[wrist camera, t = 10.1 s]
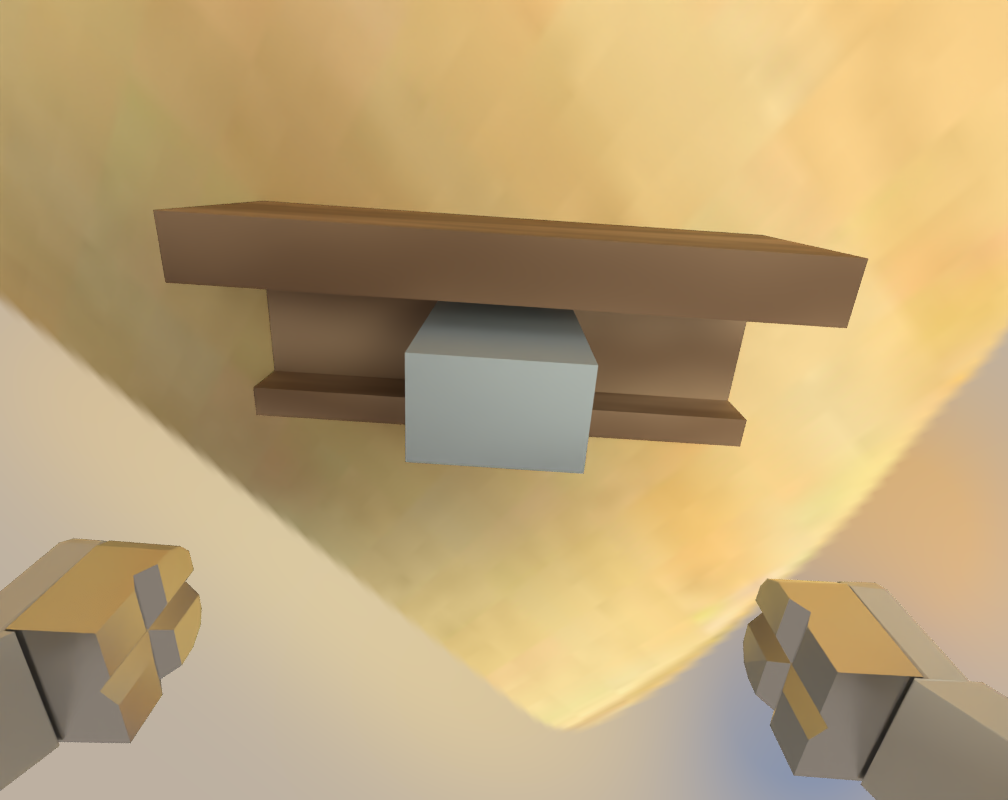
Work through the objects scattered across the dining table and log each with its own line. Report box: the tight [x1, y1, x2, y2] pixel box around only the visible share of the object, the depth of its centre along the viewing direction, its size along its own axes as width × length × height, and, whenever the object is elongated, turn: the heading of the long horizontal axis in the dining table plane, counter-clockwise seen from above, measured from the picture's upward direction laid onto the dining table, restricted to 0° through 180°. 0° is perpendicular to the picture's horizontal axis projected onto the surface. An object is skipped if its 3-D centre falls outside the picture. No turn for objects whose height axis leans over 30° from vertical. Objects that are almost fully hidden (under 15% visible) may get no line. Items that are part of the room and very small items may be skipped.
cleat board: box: [153, 201, 868, 446], centre depth 20 cm, size 8×20×7 cm, turn 86°
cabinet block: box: [405, 301, 598, 474], centre depth 19 cm, size 4×5×9 cm
